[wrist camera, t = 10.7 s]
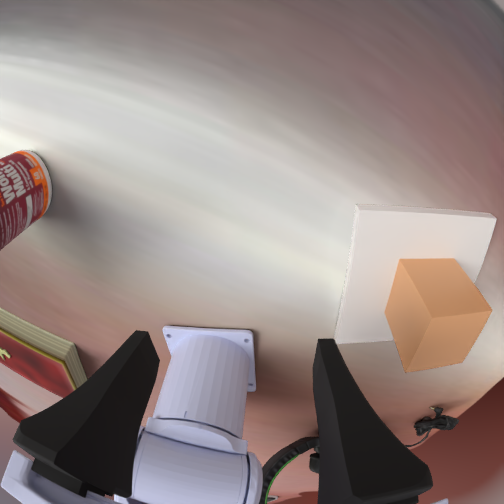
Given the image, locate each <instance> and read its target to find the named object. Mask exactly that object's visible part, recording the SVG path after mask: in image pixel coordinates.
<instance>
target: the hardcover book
mask: <svg viewBox="0 0 504 504" xmlns="http://www.w3.org/2000/svg"><path fill="white" fill-rule="evenodd" d="M0 362H1V363H2V364H4V365H5V366H7V367H8V368H10V369H11V370H13V371H15V372H16V373H18V374H20V375H21V376H23V377H25V378H26V379H28V380H30V381H32V382H34V383H35V384H37V385H39V386H41V387H43V388H45V389H46V390H48V391H50V392H52V393H54V394H56V395H58V396H60V397H62V398H65V397H66V396H68V395H69V394H70V393H72V392H73V391H74V390H76V389H77V388H78V387H80V386H81V385H82V384H83V383H84V382H86V381H87V380H88V379H87V377H86V374H85V372H84V369H83V367H82V364H81V361H80V358H79V356H78V353H77V350H76V347H75V344H74V343H72V342H70V341H68V340H65V339H63V338H61V337H58V336H56V335H54V334H52V333H49V332H47V331H45V330H43V329H41V328H39V327H37V326H35V325H33V324H31V323H29V322H27V321H25V320H23V319H21V318H19V317H17V316H15V315H13V314H11V313H9V312H7V311H6V310H4V309H2V308H0Z"/></svg>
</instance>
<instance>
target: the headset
mask: <svg viewBox="0 0 504 504" xmlns="http://www.w3.org/2000/svg"><path fill="white" fill-rule="evenodd" d="M429 408H430V409H432V410H434V411H435V412H436V416H435V418H434V419H431V418H430V417H425V418H423V420H422V422H417V423H415V425H414V428H416V429H415V430H417V432H416V433H417V435H418V436H422V435H423V434H424V433H425V432H427V431H428V433H427V435H426V437H425V438H423V439H422V440H421V441H420V442H418V443H416V444H414V445H417V444H419V443H421V442H422V441H424V440H425V439H426V438H427V437H428V434H429V432H430V430H431V429H432V428H437V429H441V430H451V429H453V428H454V427H455V426H456V424H458V422H459V420H458V419H456V418H453V417H450V416H446V415H441V413H442V411H443V408H439V407H436V408H433V407H429ZM440 415H441V416H440ZM414 445H405V446H406V447H411V446H414ZM311 448H314V450H315V451H316V452H317V453H313V454H311V455H310V457H311V458H310V463H309V467H310V470H311V471H313V472H315V473H318V474H319V460H320V443H319V437H304V438H302V439H299V440H298V441H295V442H294V443H292V444H290V445H289V446H287V447H285V448H283V449H281V450H280V451H278V452H277V453H276V454H275V455H273V456H272V457H271V458H270V459H269V460H268V461H267V462H266V464H265V465H264V466H263V468H262V472H263V484H262V492H261V497H260V501H259V504H267V497H268V493H269V490H270V487H271V485H272V483H273V481H274V479H275V478H276V476H277V475H278V474H279V472H280V471H281V470H282V469H283V468H284V467H285V466H286V465H287V464H288V463H289V462H291V461H292V460H293V459H295V458H296V457H297V456H298V455H299V454H302V453H304V452H306V451H308V450H309V449H311Z"/></svg>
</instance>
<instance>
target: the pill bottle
mask: <svg viewBox="0 0 504 504" xmlns="http://www.w3.org/2000/svg"><path fill="white" fill-rule="evenodd" d="M51 196H52V184H51V179H50V176H49V173H48V170H47V168H46V166H45V164H44V163H43V161H42V160H41V159H40V158H39V156H37V155H36V154H35V153H33V152H31V151H28V150H20V151H17V152H15V153H12V154H10V155H8V156H6V157H4V158H2V159H0V250H1V249H2V248H4V247H5V246H6V245H7V244H8V243H10V242H11V241H12V240H13V239H14V238H15V237H17V236H18V235H19V234H20V233H21V232H23V231H24V230H25V229H26V228H28V227H29V226H30V225H32V224H33V223H34V222H35V221H37V220H38V219H39V218H40V217H42V216H43V215H44V214H45V212H46V211H47V209H48V207H49V205H50V202H51Z"/></svg>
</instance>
